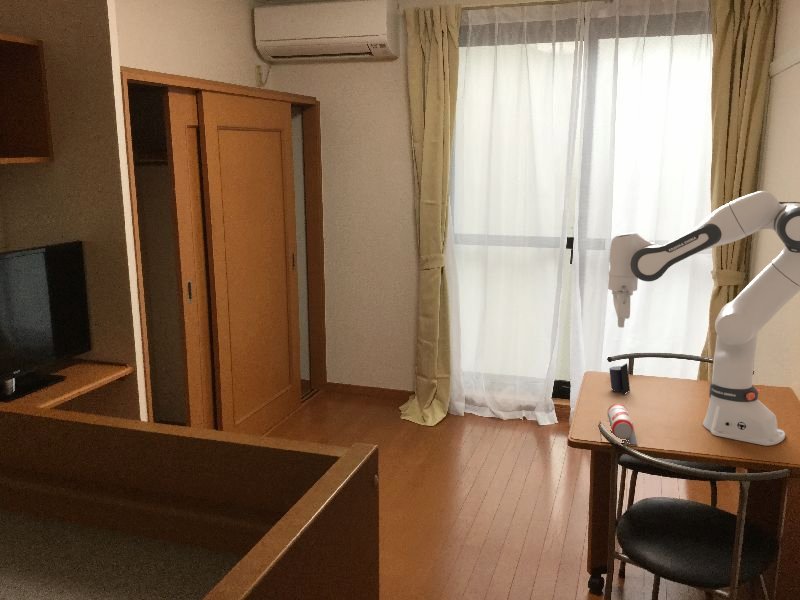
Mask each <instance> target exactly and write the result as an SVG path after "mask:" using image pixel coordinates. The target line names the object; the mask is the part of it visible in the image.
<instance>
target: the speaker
mask: <svg viewBox="0 0 800 600" xmlns="http://www.w3.org/2000/svg"><path fill="white" fill-rule="evenodd" d="M609 380H610V387H611V388H612V389H613V390H615V391H614V392H616V391H619V392H622V395H623V394H625V393H626V392H628V391H630V392H631V387H630V377H629V366H628V362H626V363H624V364H623V365H617V366H611V367H610V368H609ZM628 393H629V392H628ZM625 395H626V394H625Z"/></svg>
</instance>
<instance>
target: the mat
mask: <svg viewBox="0 0 800 600" xmlns="http://www.w3.org/2000/svg"><path fill="white" fill-rule="evenodd" d="M632 425H633V432H632V435H631V436H630V437H629V438H627V439H626V440H627V441H626V440H622V442H623V441H624V443H626V444H625V445H627V444H629V443H630V444H633V445H632V446H638V442H637V438H636V432H635V427H634V424H633V422H632ZM610 431H611V430H610ZM611 433H612V431H611ZM628 440H629V441H628ZM627 442H628V443H627Z"/></svg>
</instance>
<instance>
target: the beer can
mask: <svg viewBox="0 0 800 600" xmlns="http://www.w3.org/2000/svg"><path fill="white" fill-rule="evenodd" d="M606 414H607V417H608V422H610V426H611V429H612V433H613V434H614V435H615V436H616V437H618V438H620V439H627V438H629V437H630V436H631V435H632V432H633V427H634V424H633V425H632V423H633V422H632V420H631V416H630V413H629V411H628V409H627V407H626V406H625V405H623V404H622V403H621V404H620V403H615V404H612V405H610V407H608V409H607V413H606Z"/></svg>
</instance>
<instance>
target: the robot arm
mask: <svg viewBox="0 0 800 600" xmlns="http://www.w3.org/2000/svg"><path fill="white" fill-rule="evenodd" d="M762 230H773V231H774V232H775V233H776V235H777V236H778V237H779V239H780V240H781V241H782V243H783V244H784V246H783V249H782V250H781V252H779V254H778V255H777V256H776V257H775V258H774V259H772V261H771V262H769V263H768V265H766V266H765V268H763V269H762V270H761V271H760V273H758V274H757V275H756V276H755V277H754V278H752V280H751V281H750V282H749V283H748V284H747V285H746V286H745V288H743V290H742V291H740V292H739V294H738V295H737V296H736V297H735V298H734V299H733V300H731V301H729V302H728V303H726V304H725V305H723V306H722V308H721V309H720V311H719V313H718V315H717V317H716V319H715V321H714V322H715V323H714V330H715V333H716V339H715V348H714V355H713V363H712V365H713V366H712V378H711V379H712V380H710V385H709V390H708V391H709V394H708V395H709V404H708V407H707V411H706V414H705V417H704V420H703V422H702V425H703V427H704V428H705V429H707V430H708V431H710V433H711V434H712V435H713V436H716V437H722V438H726V439H731V440H736V441H741V442H746V443H751V444H755V445H761V446H766V447H767V446H774V445H778V444H780V443H782V441H784V440H785V438H786V433H785V431H784V430H783V429H780V428H778V420H777V416H776V415H775V413H774V412H773V411H771V410H770V409H769V408H768V407H767V406H766V405H764V403H763V402H762V401H760V400H759V394H760V393H761V392H760V391H761V389H760V388H758V389H757V388H756V387H754V385H753V376H754V365H755V359H756V358H755V357H756V348H757V347H756V346H757V337H758V333H759V332H760V331H761V330H762V329H763V328H764V327H765V326H766V325H767V323H769V321H771V320H772V319H773V318H774V316H775V315H776V314H777V313H778V312H779V311H780V310H781V309H782V308H783V307H784V306H785V305H786V304H787V303H788V302H789V301H790V300H792V299H793V298H794V297H795V296H796V295H797V294H798V293H799V292H800V202H799V201H778V199H777V198H776V196H774V194H772V193H771V192H770V191H767V190H758V191H755V192H752V193H749V194H746V195H744V196H740V197H738V198H736V199H734V200H731V201H729V202H727V203H725V204H724V205H722V206H720V207H719V208H717V209H715V210H714V211H712V212H711V213H710V214H709V215H707V216H706V217H705V218H704V219H703V220H702V221H701V222H700V223H699V224H698V225H697V226H695V227H694V228H693V229H691V230H690V231H688V232H687V233H686V234H683V235H681V236H680V237H678V238H676V239H673V240H671V241H669V242H667V243H665V244H658V243H656V242H654V241H650V240H648V239H646V238H644V237H642V236H640V235H639V234H638V233H636V232H625V233H624V232H623V233H621V234H617V235H615V236H614V237H613V238H612V239H611V243H610V247H609V248H610V249H609V257H608V259H609V261H608V262H609V265H610V267H609V271H608V284H607V288H608V290H610V291H611V294H612V301H613V306H614V309H615V313H616V317H617V327H618V328H624V327H625V320H626V319H627V320H628V319H630V317H631V296H633V294H634V292H635V291H636V292H637V291H638V285H639V284H638V283H639V281H638V280H640V281H642V282H654V281H656V280H659V279H660V278H661V277H662V276H663V275H664V274H665V273H666V272H667V270H668V269H670V268H671V267H672V266H674V265H675V264H677V263H679V262H681V261H683V260H685V259H687V258H689V257H691V256H693V255H695V254H698V253H700V252H702V251H705V250H708V249H711V248H716V247H720V246H723V245H728V244H731V243H735V242H737V241H739V240H742V239H744V238H747V237H748V236H750V235H753V234H755V233H757V232H759V231H762Z"/></svg>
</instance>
